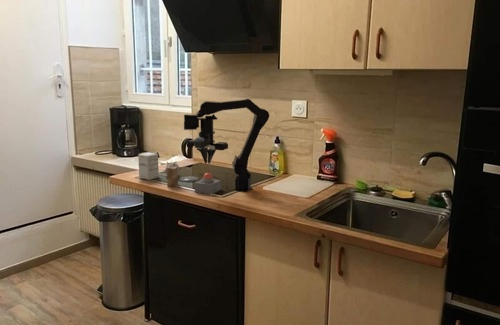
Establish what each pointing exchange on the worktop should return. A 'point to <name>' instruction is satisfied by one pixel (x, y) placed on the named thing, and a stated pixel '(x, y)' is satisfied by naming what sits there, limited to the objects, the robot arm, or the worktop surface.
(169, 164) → the white crumpled paper
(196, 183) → the button housing
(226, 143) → the robot arm
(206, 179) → the dome button
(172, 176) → the brown tapered cup
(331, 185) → the worktop surface
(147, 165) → the supplement box
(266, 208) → the worktop surface
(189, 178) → the slate coaster
